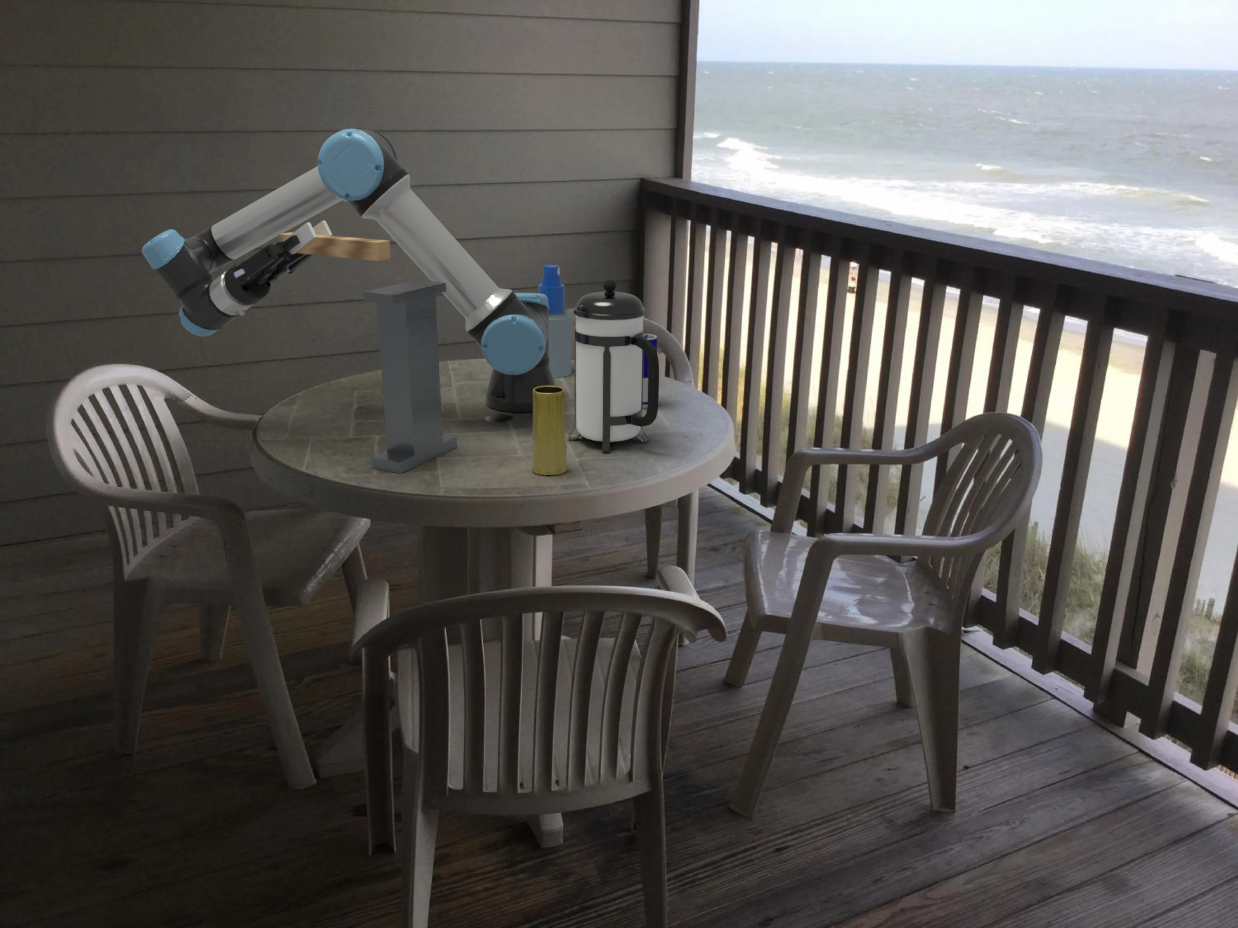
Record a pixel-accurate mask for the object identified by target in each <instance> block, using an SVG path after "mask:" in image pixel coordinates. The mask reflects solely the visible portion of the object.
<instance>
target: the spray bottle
mask: <svg viewBox="0 0 1238 928" xmlns="http://www.w3.org/2000/svg"><path fill="white" fill-rule="evenodd" d="M560 269H561V268H560V265H557V264H545V265H544V266H543V267H542V276H541V283H539V284H538V286H537V288H538V289H537V290H538V293H540V294H545V295H546V296H547V298H548V305H549V307H550V309H549V366H550V370H551V373H552V376H553V378H554V379H559V378H558V377H562V378H565V377H564V376H567V377H569V376H571V375H572V314H571V311H570V310H568V309H566V308H565V303H566V302H565V301H566V299H565V296H566V295H565V294H566V293H565V284H564V283H562V277H561V276H560V274H561V273H560V272H561V271H560ZM570 374H571V375H570ZM568 375H569V376H568Z"/></svg>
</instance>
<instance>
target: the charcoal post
mask: <svg viewBox="0 0 1238 928" xmlns="http://www.w3.org/2000/svg"><path fill="white" fill-rule="evenodd" d="M442 292H446V283H444V282H434V281H431V280H425V279H424V280H423V279H422V280H421V279H415V280H411V281H405V282H402V283H397V284H392V285H388V286H382V287H378V288H373V289H371V290H365V291H363V292H362V293H363V294H362V295H363V302H369V303H370V302H371V303H376V313H377V315H376V317H377V328H378V343H379V356H380V357H379V358H380V370H381V384H382V395H383V396H382V398H383V414H384V426H385V438H386V439H385V441H386V450H384V451H381V452H380V453H377V454H375V455H373V456H371V464H372V469H375V470H376V469H377V470H382V471H385V472H386V471H387V472H390V473H396V474H399V473H401V474H402V473H405V472H406V471H409V470H411V468H412V469H414V468H415V467H418V466H421V465H422V464H425V463H427V462H428V461H431V460H433V459H435V458H437V457H439V456H442V455H444V454H445V453H448V452H450V451H452V450H454V449H456V448H457V447H458V442H457V439H458V438H457V436H454V435H449V434H443V432H444V431H443V418H442V417H443V414H442V396H441V377H440V358H439V354H440V353H439V338H438V337H439V336H438V335H439V334H438V322H437V321H438V319H437V318H438V317H437V303H436V302H437V299H436V298H437V296H436V295H437V294H443V293H442Z"/></svg>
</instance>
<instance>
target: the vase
mask: <svg viewBox="0 0 1238 928" xmlns="http://www.w3.org/2000/svg"><path fill="white" fill-rule="evenodd" d="M565 417H566V416H565V389H564V388H563V387H562V386H559V385H556V386H550V385H547V386H539V387H535V388H534V389H533V411H532V452H531V453H532V456H531V458H532V459H531V462H532V463H531V464H532V465H531V471H532V472H533V473H534V474H537V475H539V474H540V476H546V475H551V476H552V475H553V476H559V475H562V474H564V473H566V472H567V471H568V462H567V461H568V459H567V458H568V457H567V442H566V441H567V439H566V418H565Z"/></svg>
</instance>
